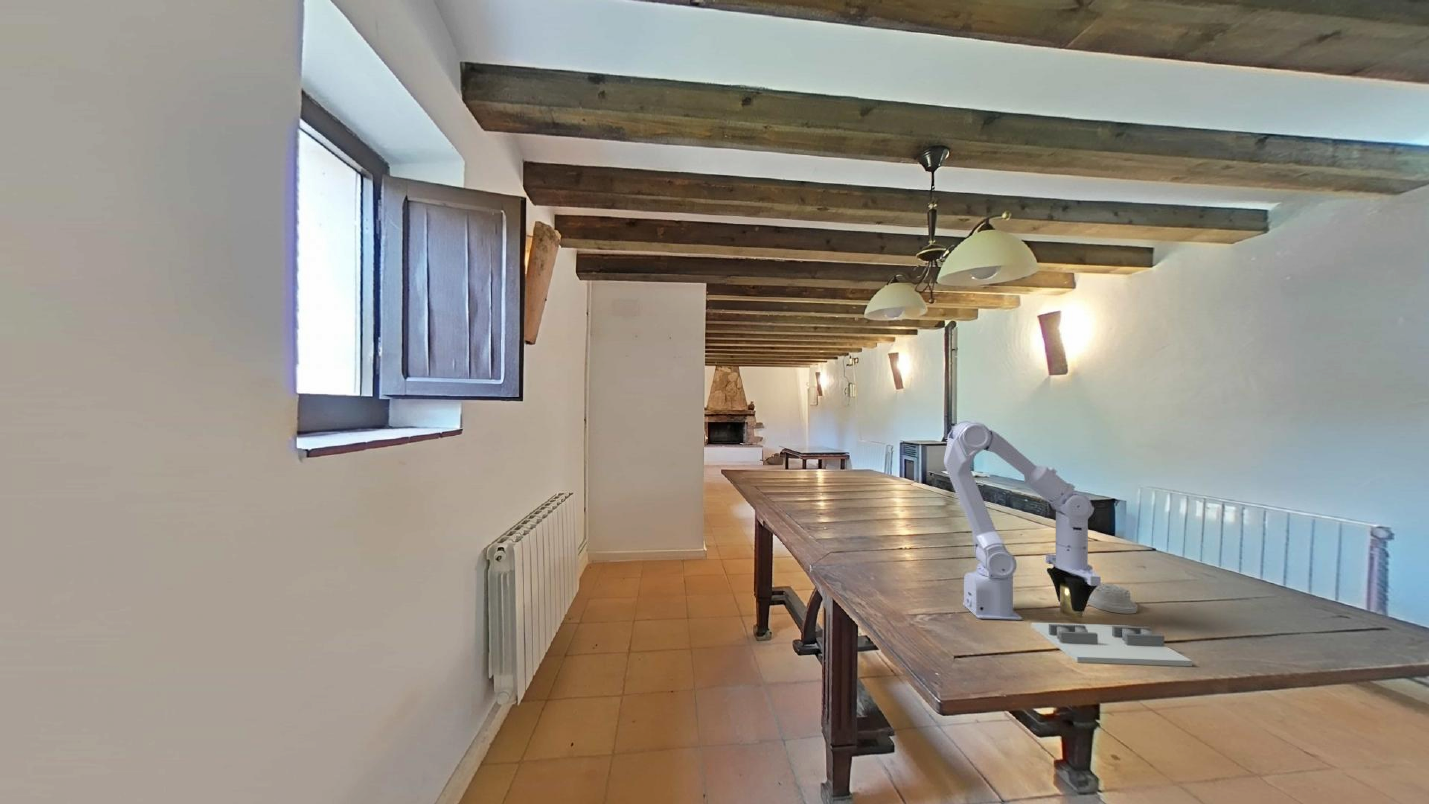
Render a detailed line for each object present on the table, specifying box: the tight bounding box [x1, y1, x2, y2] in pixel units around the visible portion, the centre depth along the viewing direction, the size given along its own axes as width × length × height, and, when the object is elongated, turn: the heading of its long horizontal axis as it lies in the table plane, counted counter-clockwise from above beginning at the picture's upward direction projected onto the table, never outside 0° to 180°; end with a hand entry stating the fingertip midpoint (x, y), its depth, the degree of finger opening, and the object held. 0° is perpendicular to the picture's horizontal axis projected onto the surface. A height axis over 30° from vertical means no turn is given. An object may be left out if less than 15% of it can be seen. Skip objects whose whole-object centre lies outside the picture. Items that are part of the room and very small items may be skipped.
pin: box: [1059, 583, 1084, 619], centre depth 105 cm, size 4×4×6 cm
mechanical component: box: [1087, 582, 1138, 615], centre depth 113 cm, size 10×4×10 cm
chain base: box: [1030, 622, 1193, 667], centre depth 94 cm, size 20×14×3 cm
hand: (1071, 606), depth 105 cm, fingers closed on pin, 4 cm apart
